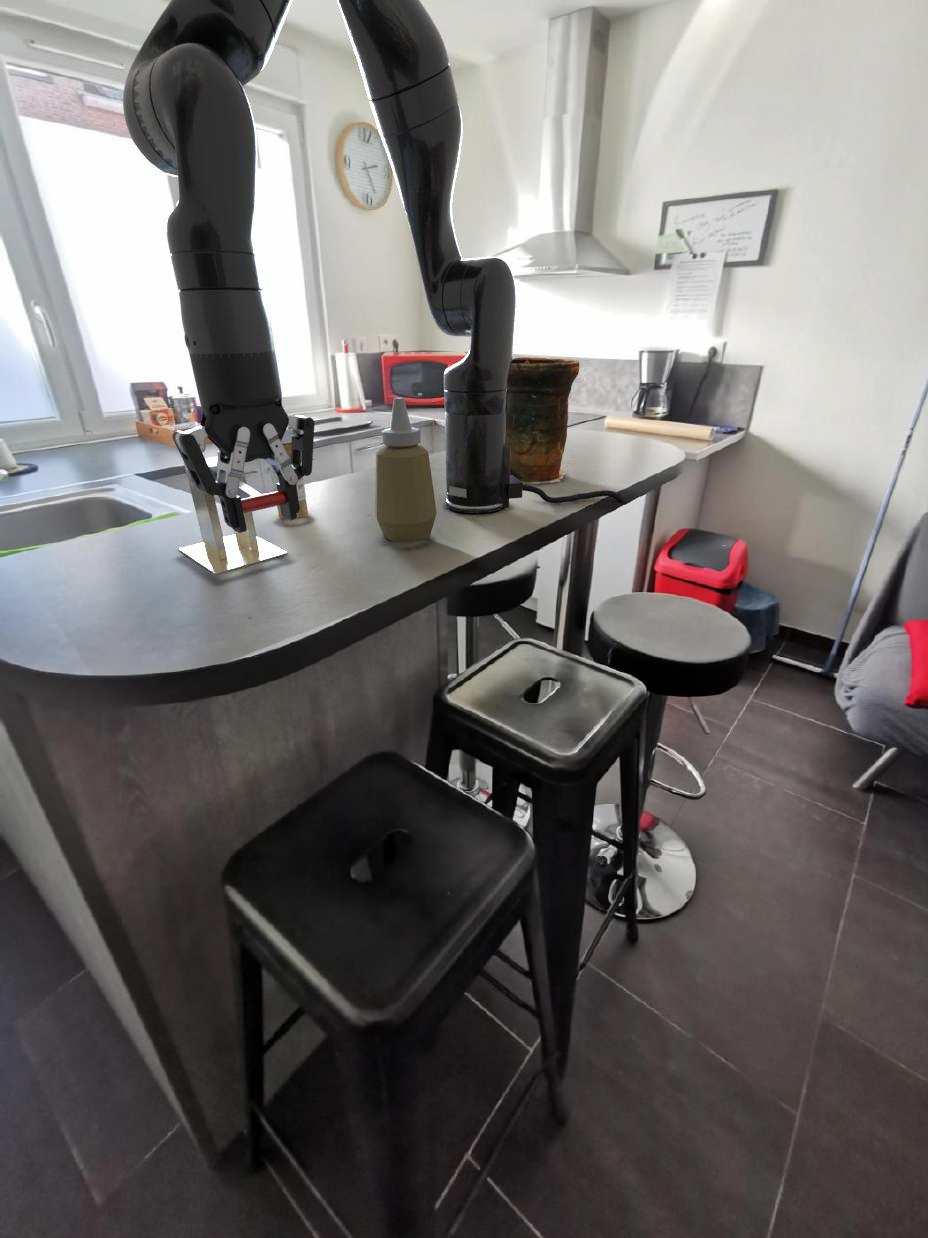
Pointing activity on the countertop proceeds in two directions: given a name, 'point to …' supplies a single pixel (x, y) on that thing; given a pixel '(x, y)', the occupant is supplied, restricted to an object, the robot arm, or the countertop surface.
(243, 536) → the metal stand
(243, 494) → the lever
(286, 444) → the sprinkles bottle
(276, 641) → the countertop surface
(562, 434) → the vessel
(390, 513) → the squeeze bottle
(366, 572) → the countertop surface
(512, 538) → the countertop surface
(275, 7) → the robot arm
